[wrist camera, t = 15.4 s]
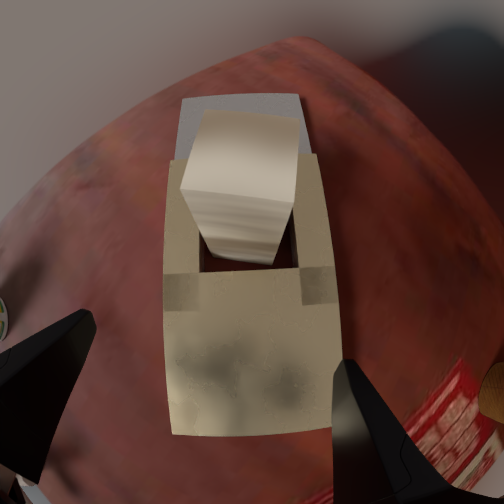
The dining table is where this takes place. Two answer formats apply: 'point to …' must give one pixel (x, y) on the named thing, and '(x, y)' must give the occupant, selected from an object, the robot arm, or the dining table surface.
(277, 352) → the plate with square hole
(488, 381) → the disposable coffee cup
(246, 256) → the maple pin
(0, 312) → the supplement bottle
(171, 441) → the dining table surface
